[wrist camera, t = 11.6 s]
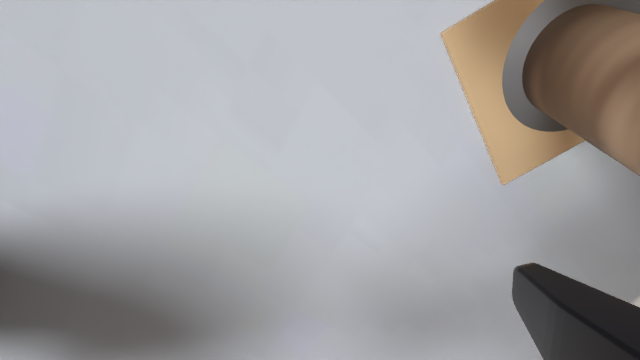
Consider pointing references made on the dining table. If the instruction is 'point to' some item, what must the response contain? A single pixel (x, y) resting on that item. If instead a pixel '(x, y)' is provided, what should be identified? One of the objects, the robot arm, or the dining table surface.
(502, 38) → the board
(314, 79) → the dining table surface
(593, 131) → the pepper mill
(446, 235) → the dining table surface
